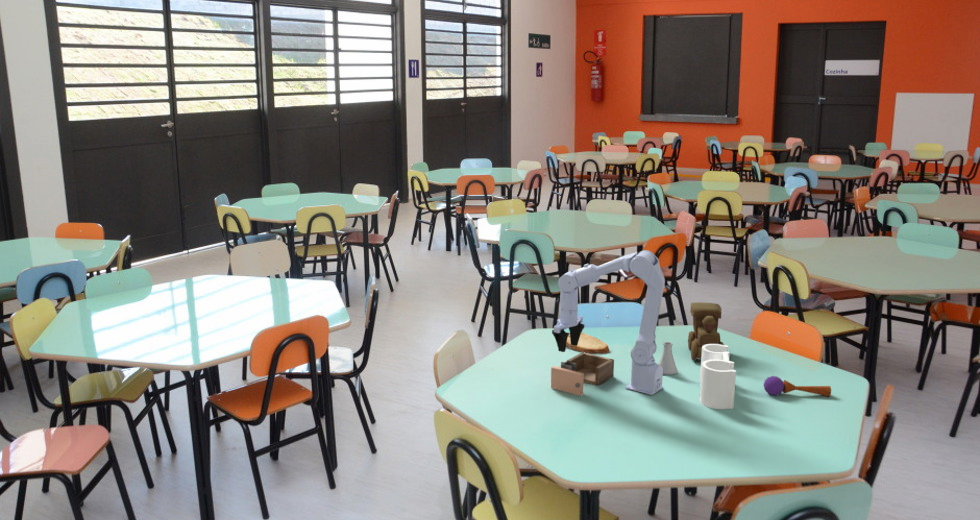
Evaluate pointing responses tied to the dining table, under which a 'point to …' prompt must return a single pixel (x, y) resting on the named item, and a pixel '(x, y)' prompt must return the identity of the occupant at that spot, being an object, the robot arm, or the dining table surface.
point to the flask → (668, 360)
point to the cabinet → (591, 367)
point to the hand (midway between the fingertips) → (568, 348)
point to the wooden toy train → (704, 327)
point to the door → (567, 380)
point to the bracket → (717, 377)
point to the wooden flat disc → (588, 345)
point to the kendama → (792, 387)
